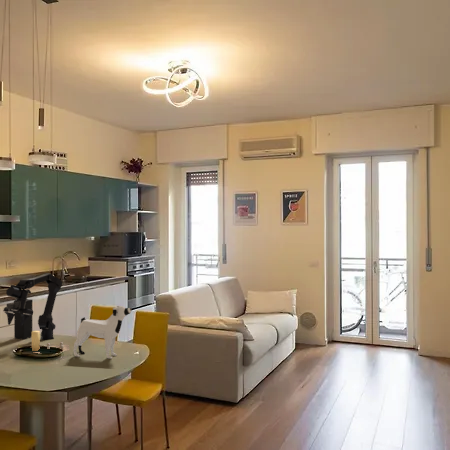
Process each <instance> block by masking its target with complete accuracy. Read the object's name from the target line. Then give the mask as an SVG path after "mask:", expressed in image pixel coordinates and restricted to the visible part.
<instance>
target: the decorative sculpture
mask: <svg viewBox="0 0 450 450" xmlns="http://www.w3.org/2000/svg"><path fill="white" fill-rule="evenodd" d="M131 312H132V308H131V307H125V306H123V305H122V306H121V305H118V306H114V307H112V314H111V315H110V316H109V317H108V318H107V319H105V320H104V319H101V320H100V319H87V318H86V317H82V318H81V319H80V325H79V327H78V330H77V333H76V340H75V341H74V342H73V354H74V357H77V358H79V357H80V354H81V355H84V354H85V351H83V350H82V345H83V344H84V343H85V342H86V341H87V340H88V338H89V337H90V336H91V337H95V338H99V339H104V349H105V354H106V358H107V359H110V360H111V359H113V356H114V357H117V356H118V355H117V353H115V352H114V347H115V343H116V337H118V335H119V334H120V331H121V327H122V324H123V321H124V318H125V317H127V316H128V315H130V314H131ZM77 349H78V352H77Z"/></svg>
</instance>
